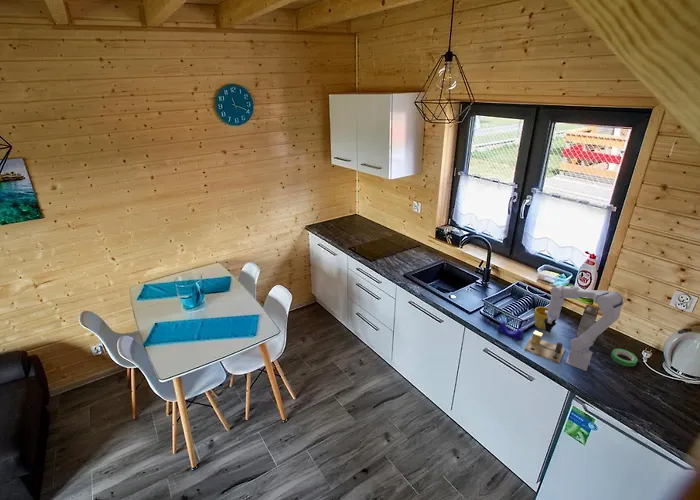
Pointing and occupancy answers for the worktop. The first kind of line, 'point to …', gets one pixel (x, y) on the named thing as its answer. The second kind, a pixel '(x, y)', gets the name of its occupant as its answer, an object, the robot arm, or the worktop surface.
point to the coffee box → (587, 319)
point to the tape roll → (621, 361)
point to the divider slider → (536, 338)
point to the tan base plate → (546, 350)
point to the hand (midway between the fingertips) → (549, 328)
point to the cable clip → (510, 333)
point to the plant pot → (540, 317)
